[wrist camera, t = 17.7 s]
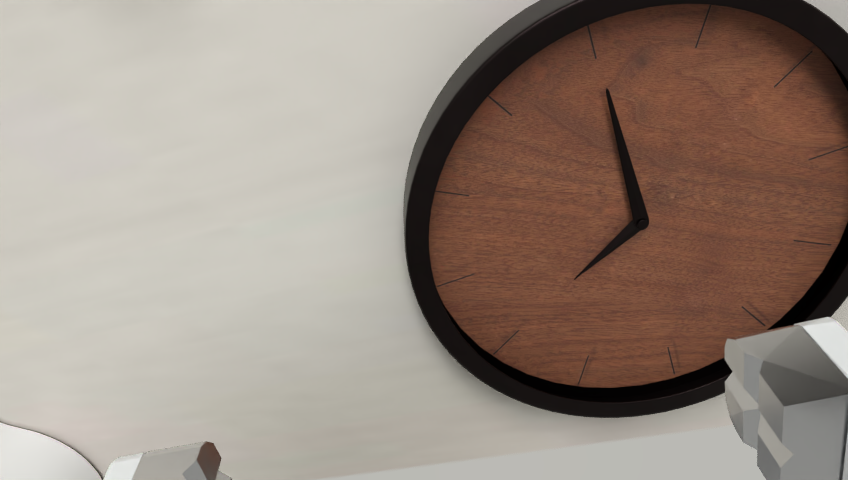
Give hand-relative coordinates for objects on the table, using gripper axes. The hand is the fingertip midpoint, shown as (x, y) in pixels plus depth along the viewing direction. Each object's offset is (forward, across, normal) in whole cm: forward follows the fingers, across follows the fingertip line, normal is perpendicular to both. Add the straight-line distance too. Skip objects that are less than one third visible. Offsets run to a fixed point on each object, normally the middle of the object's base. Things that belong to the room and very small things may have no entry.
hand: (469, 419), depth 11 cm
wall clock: (+35, -12, +16) cm, 40 cm away
